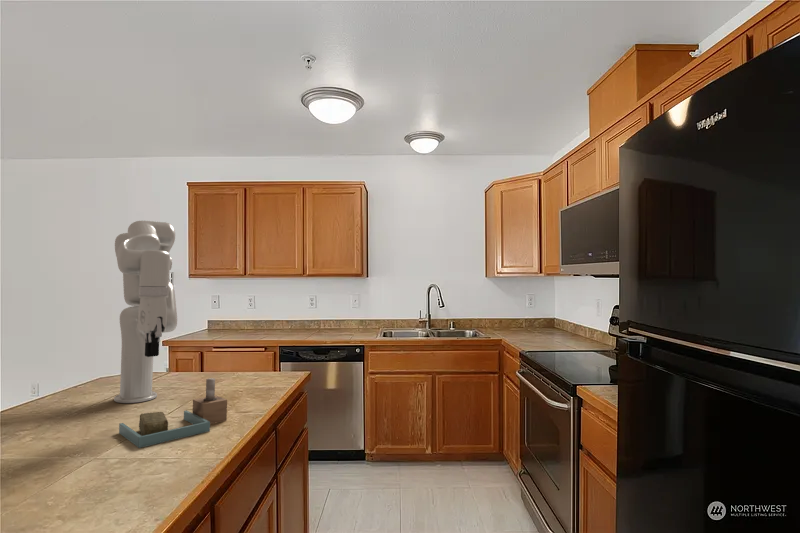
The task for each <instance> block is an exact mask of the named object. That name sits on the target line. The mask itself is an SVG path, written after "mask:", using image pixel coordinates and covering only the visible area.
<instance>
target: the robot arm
mask: <svg viewBox="0 0 800 533" xmlns="http://www.w3.org/2000/svg"><path fill="white" fill-rule="evenodd" d="M175 241H176V230H175V228H174V226H173V225H172V224H170V223H169V222H167V221H165V222H163V221H153V220H135V221H133V222H131V224H129V226H128V228H127V232H124V233H120V234H118V235H117V236H116V237H115V240H114V252H115V257H116V261H117V262H116V263H117V267H118V269H119V271H120V272H121V273H122V275H123V276H122V278H123V279H122V281H123V298H124V302H125V303H126V304H127V305H128V307H126V308H124V309H123V310H121V311H120V314H119V327H120V332H121V333H120V335H121V336H120V337H121V353H120V354H121V356H120V358H121V359H120V378H119V379H120V381H119V384H120V385H119V394H117V395H115V396H114V397H113V398H114V400H113V401H114V402H116V403H120V404H134V403H136V404H137V403H141V402H142V403H143V402H147V401H152V400H154V399H156V398H157V397H158V393H157V392H156V391H153V376H154V375H153V371H154V370H153V369H154V357H159V355H160V341H161V337H162V336H163V335H162V334H163V333H165V334H166V333H171V332H173V331H174V330H176V328H177V327H178V326H177V325H178V311H177V303H176V302H177V300H176V294H175V287H174V285H173V283H172V282H171V281H170V271H171V270H172V268H173V262H172V261H173V259H172V257H171V254H170V251H171V250H172V248H173V246H174V244H175Z"/></svg>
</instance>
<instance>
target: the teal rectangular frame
mask: <svg viewBox="0 0 800 533" xmlns="http://www.w3.org/2000/svg"><path fill="white" fill-rule="evenodd" d="M183 420H184V421H186V422H187V421H188V423H189V422H190V423H189V424H191V425H185V426H181V427H177V428H176V427H175V428H173V429H168V430H167V431H162V432H158V433H153V434H149V435H144V436H141V433H138V432H137V431H135V430H133V428H131V427H130V426H128V425H127V424H125V423H124V422H120V423H119V425H118V426H119V428H118V434H119V435H121V436H122V437H124V438H125V439H126V440H128V441H129V442H130V443H132V444H133V445H134V446H136V447H137V448H138V449H140V448H145V447H148V446H153V445H158V444H162V443H165V441H166V442H170V441H174V439H175V440H178V439H181V438H186V437H191V436H195V435H199V434H203V433H207V432H210V431H211V424H210V422H209V421H207V420H205V419H203V418H201V417H199V416H197V415H195V414H193V412H191V411H189V410H184V411H183ZM169 440H170V441H169Z"/></svg>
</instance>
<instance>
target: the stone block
mask: <svg viewBox="0 0 800 533" xmlns="http://www.w3.org/2000/svg"><path fill="white" fill-rule="evenodd" d="M138 429H139V432H140V435H141V436H144V435H149V434H153V433H158V432H162V431H167V430H169V421H168V419H167V417H166V414H165V413H164V412H163V411H154V412H145V413H141V414H140V415H139V421H138Z"/></svg>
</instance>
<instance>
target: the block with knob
mask: <svg viewBox="0 0 800 533" xmlns="http://www.w3.org/2000/svg"><path fill="white" fill-rule="evenodd" d="M205 382H206V383H205V385H206V386H205V397H198V398H193V399H192V413H193V414H195V415H197V416H199V417H201V418H203V419H205V420H207V421H209V422H210V425H213V424H216V423H220V422H226V421H227V419H228V418H227V417H228V399H226V398H224V397H222V396H219V395H215V394H216V392H215V391H216V378H213V377H210V378H206V381H205Z"/></svg>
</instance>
